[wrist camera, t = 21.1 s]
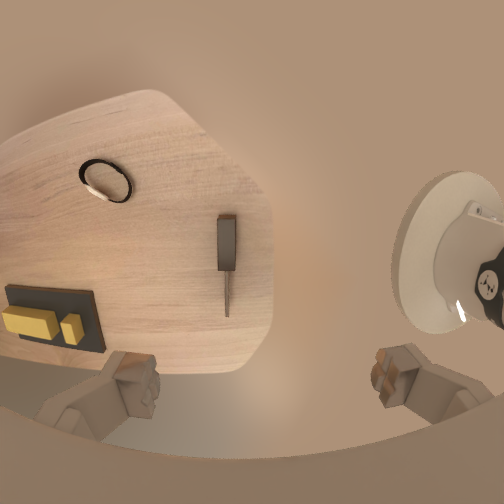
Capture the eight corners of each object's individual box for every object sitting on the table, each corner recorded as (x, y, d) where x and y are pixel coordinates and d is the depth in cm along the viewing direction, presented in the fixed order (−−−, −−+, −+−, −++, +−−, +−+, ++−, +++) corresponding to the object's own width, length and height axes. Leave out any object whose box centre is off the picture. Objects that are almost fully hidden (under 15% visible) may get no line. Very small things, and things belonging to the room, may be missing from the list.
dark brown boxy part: (235, 214, 34) (235, 218, 31) (235, 306, 37) (235, 317, 34) (218, 214, 34) (217, 218, 31) (220, 306, 37) (219, 317, 34)
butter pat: (79, 314, 35) (70, 324, 32) (84, 334, 36) (76, 345, 33) (69, 313, 35) (59, 322, 32) (74, 333, 36) (65, 343, 33)
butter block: (54, 310, 35) (45, 320, 32) (60, 330, 36) (51, 340, 33) (10, 304, 34) (1, 312, 31) (16, 322, 35) (7, 330, 32)
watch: (80, 182, 31) (66, 184, 28) (96, 150, 30) (82, 149, 27) (125, 211, 33) (113, 216, 29) (142, 178, 32) (132, 179, 28)
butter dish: (92, 290, 36) (89, 294, 34) (106, 349, 38) (103, 353, 37) (8, 284, 34) (4, 286, 33) (23, 335, 37) (19, 338, 36)
